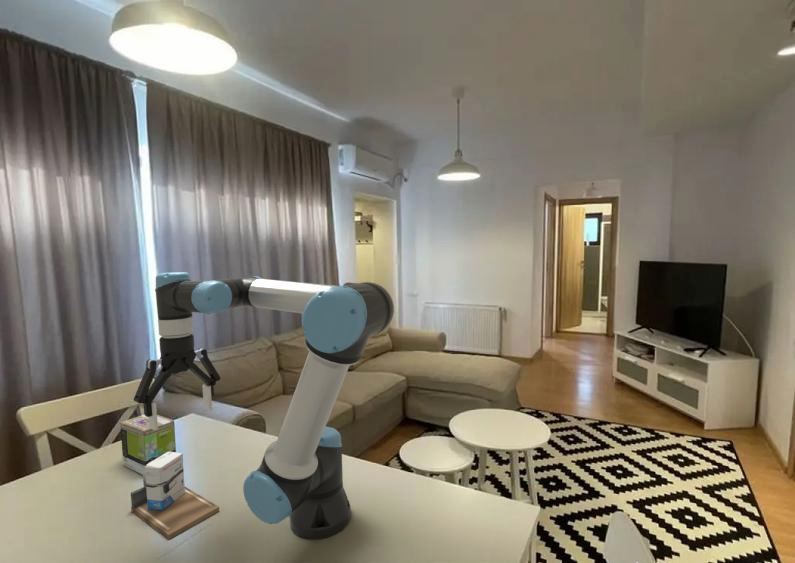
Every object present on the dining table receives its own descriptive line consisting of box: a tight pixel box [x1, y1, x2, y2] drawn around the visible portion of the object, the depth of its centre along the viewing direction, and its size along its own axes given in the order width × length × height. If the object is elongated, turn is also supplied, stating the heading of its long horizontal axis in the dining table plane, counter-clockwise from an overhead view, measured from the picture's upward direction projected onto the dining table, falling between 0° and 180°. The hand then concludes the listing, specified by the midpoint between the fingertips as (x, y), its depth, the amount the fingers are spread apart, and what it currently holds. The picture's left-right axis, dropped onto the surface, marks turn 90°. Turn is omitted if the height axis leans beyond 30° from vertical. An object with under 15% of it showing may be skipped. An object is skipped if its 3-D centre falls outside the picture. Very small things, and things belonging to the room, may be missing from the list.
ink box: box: [145, 451, 186, 510], centre depth 113 cm, size 8×5×12 cm, turn 167°
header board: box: [130, 472, 220, 540], centre depth 110 cm, size 20×13×9 cm, turn 55°
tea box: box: [120, 414, 177, 476], centre depth 135 cm, size 15×10×15 cm, turn 58°
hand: (182, 418), depth 104 cm, fingers open, 13 cm apart
